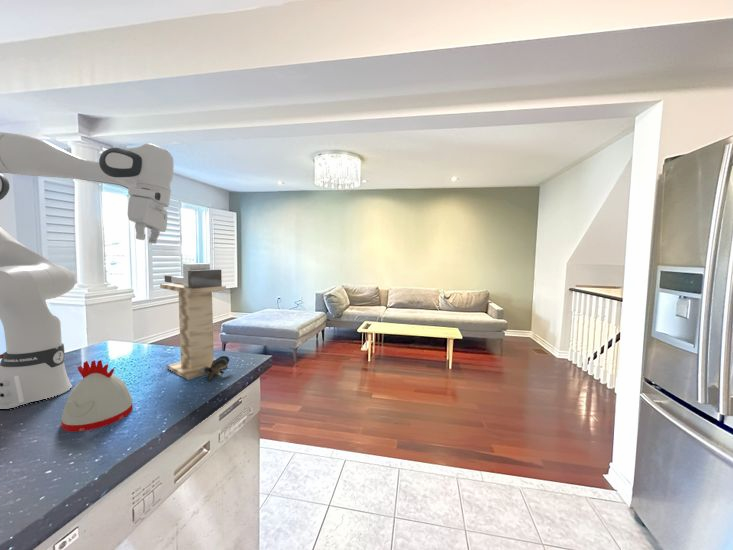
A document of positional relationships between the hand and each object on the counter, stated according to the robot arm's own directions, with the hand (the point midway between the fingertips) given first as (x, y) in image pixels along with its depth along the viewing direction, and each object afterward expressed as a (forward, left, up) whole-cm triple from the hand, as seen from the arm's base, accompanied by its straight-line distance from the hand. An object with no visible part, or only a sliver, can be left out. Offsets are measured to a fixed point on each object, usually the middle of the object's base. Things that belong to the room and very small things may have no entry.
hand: (146, 241), depth 93 cm
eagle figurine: (+17, +5, -47) cm, 50 cm away
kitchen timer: (-4, -17, -47) cm, 50 cm away
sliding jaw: (+2, +20, -15) cm, 26 cm away
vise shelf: (+7, +15, -46) cm, 49 cm away
